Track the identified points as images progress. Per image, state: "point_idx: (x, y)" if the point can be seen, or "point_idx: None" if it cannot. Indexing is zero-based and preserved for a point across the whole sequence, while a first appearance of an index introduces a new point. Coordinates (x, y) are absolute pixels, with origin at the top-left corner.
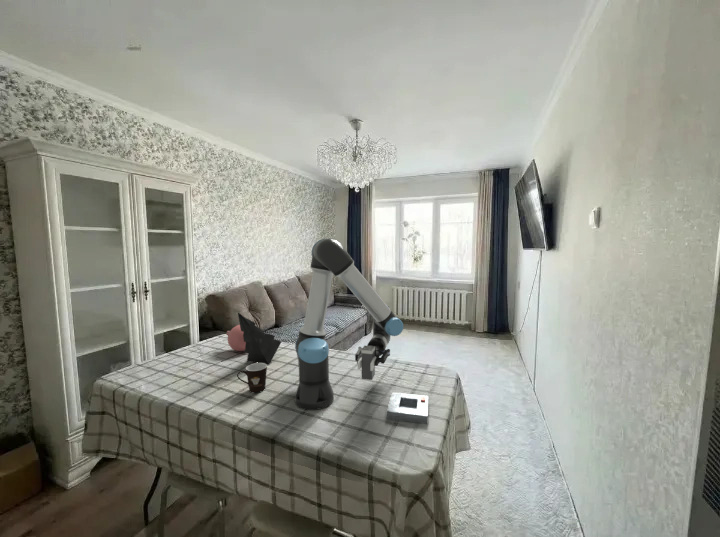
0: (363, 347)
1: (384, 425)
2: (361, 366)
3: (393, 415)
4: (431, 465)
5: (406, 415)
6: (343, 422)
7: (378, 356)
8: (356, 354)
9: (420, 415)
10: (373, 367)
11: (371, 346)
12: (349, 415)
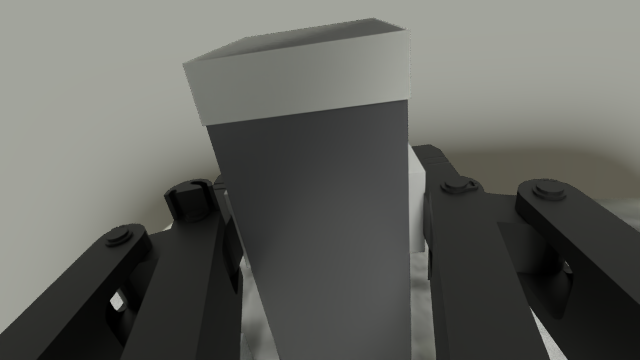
0: (382, 23)
1: (263, 318)
2: None
3: None
4: (168, 227)
5: None
6: (423, 293)
7: (185, 195)
8: (546, 184)
9: None
10: None
11: (253, 50)
12: (428, 341)
